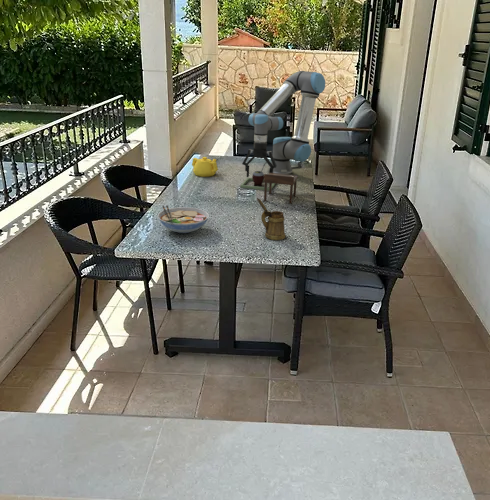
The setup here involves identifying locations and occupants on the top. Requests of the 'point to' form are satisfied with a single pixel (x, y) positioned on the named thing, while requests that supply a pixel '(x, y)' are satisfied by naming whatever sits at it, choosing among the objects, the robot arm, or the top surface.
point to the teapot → (204, 167)
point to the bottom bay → (253, 186)
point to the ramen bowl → (183, 219)
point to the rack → (280, 179)
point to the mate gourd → (258, 177)
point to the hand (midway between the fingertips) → (258, 177)
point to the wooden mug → (273, 223)
